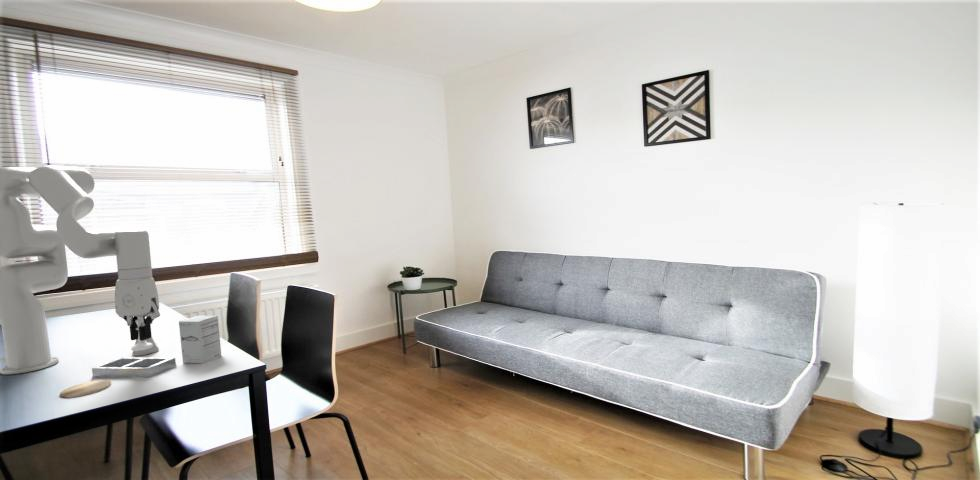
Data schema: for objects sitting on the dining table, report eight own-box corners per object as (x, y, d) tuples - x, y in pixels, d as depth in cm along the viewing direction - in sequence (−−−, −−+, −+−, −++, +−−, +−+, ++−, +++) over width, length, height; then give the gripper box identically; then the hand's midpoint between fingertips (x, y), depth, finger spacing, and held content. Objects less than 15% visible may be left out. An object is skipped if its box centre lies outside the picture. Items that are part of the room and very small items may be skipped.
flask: (155, 347, 157) (151, 318, 156) (162, 351, 152) (159, 321, 151) (128, 354, 151) (124, 323, 150) (135, 357, 147) (131, 326, 146)
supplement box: (181, 363, 139) (177, 321, 138) (202, 354, 146) (198, 314, 145) (202, 364, 137) (198, 321, 136) (222, 355, 144) (218, 314, 143)
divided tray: (92, 376, 131) (91, 368, 131) (123, 365, 140) (122, 357, 140) (148, 377, 128) (147, 368, 128) (176, 365, 137) (175, 357, 137)
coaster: (49, 397, 117) (48, 395, 117) (89, 381, 127) (89, 379, 127) (82, 398, 116) (82, 396, 115) (121, 382, 125) (120, 380, 125)
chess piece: (141, 351, 130) (138, 315, 129) (126, 350, 131) (123, 314, 130) (157, 345, 135) (154, 311, 134) (142, 344, 136) (139, 310, 135)
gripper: (97, 276, 129) (104, 342, 130) (148, 276, 126) (154, 344, 128) (123, 271, 136) (129, 334, 138) (171, 272, 133) (177, 335, 135)
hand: (141, 338), depth 133 cm, fingers closed on chess piece
